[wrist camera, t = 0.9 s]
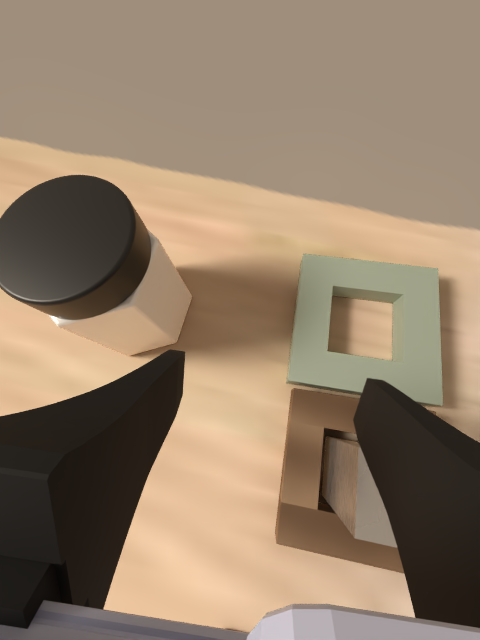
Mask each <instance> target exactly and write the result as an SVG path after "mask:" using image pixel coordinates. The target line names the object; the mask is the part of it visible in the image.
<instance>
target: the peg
mask: <svg viewBox="0 0 480 640" xmlns="http://www.w3.org/2000/svg"><path fill="white" fill-rule="evenodd" d="M321 494H322V495H323V497H324V498H325V499H326V501H327V502H328V503H329V505H330V506H331V507H332V509H333V510H334V511H335V513H336V514H337V515H338V517H339V518H340V519H341V521H342V522H343V523H344V525H345V526H346V527H347V529H348V530H349V531H350V533H351V534H352V535H353V537H354V538H355V539H360V540H364V541H369V542H373V543H378V544H382V545H387V546H391V547H396V548H397V544H396V541H395V538H394V534H393V531H392V528H391V524H390V521H389V518H388V515H387V512H386V509H385V507H384V504H383V501H382V499H381V496H380V494H379V491H378V489H377V487H376V484H375V482H374V479H373V477H372V475H371V472H370V470H369V467H368V465H367V462H366V460H365V457H364V455H363V453H362V450H361V447H360V445H359V442H356V441H350V440H345V439H340V438H334V437H329V436H326V440H325V453H324V466H323V479H322V492H321Z"/></svg>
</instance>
